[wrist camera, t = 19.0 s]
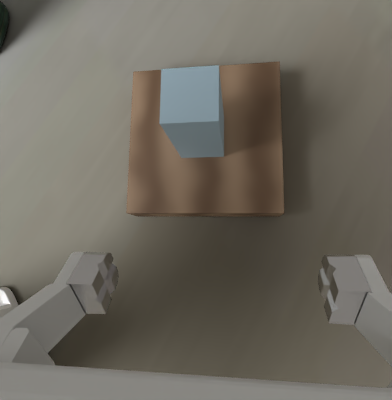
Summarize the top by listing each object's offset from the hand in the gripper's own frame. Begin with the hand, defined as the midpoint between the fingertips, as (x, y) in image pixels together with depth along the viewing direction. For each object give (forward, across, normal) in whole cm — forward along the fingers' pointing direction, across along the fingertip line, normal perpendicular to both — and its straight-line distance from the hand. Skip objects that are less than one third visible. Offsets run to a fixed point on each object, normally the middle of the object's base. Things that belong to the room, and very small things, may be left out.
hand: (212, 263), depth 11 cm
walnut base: (+27, +3, +8) cm, 29 cm away
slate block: (+24, +3, +6) cm, 25 cm away
